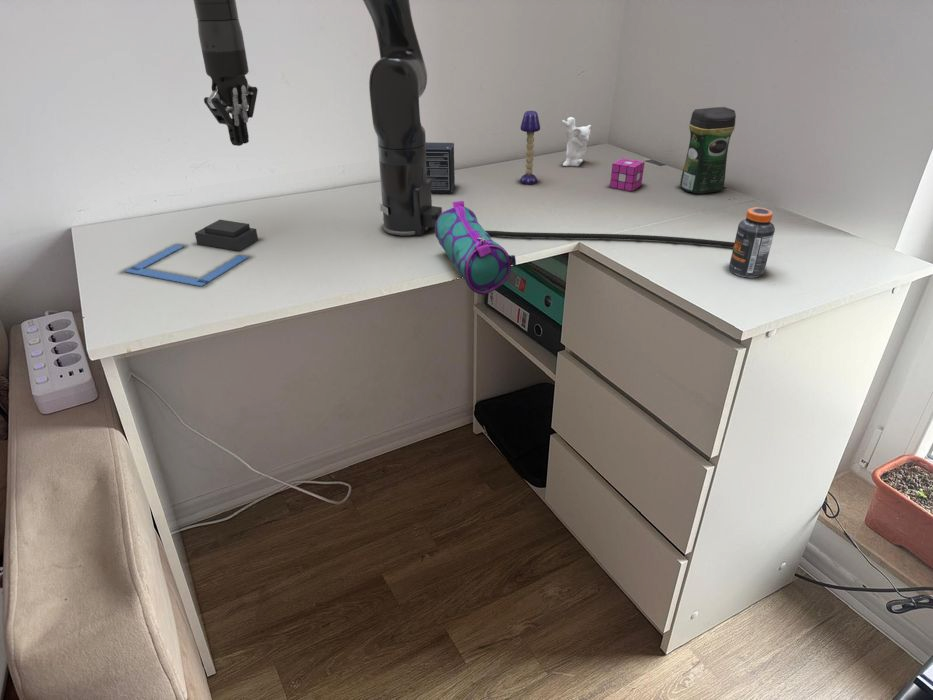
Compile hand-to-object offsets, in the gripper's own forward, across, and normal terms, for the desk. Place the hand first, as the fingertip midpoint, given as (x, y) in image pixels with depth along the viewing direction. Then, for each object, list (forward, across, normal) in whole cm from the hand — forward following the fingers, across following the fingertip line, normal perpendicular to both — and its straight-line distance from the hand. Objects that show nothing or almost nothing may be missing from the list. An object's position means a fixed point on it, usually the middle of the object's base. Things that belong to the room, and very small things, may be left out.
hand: (240, 143), depth 129 cm
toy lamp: (+17, +48, -45) cm, 68 cm away
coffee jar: (+17, +57, -85) cm, 104 cm away
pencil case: (+17, -5, -50) cm, 53 cm away
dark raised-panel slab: (+17, -9, 0) cm, 19 cm away
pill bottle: (+17, +12, -96) cm, 98 cm away
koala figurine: (+17, +67, -52) cm, 87 cm away
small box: (+17, +35, -25) cm, 46 cm away
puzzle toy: (+17, +53, -68) cm, 88 cm away
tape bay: (+17, -20, 0) cm, 26 cm away
